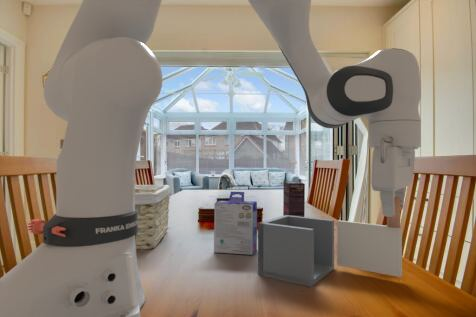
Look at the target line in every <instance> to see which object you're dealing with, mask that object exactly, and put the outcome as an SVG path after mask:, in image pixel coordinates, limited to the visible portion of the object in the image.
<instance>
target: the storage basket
mask: <svg viewBox="0 0 476 317" xmlns="http://www.w3.org/2000/svg"><path fill="white" fill-rule="evenodd" d="M170 194H171V186H170V185H168V184H135V210H136V211H137V217H138V232H137V236H136V240H135V243H136V250H149V249H155V248H156V247H157V246H158V244H159V243H161V242H160V241H161V240H162V239H163V238H164V236H165V234H166V233H167V232H168V229H169V227H168V226H169V212H170V209H169V207H170V206H169V205H170V197H171V195H170Z"/></svg>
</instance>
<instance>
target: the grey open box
mask: <svg viewBox="0 0 476 317" xmlns="http://www.w3.org/2000/svg"><path fill="white" fill-rule="evenodd" d="M333 270H335V220H334V219H328V218H327V219H324V218H315V217H308V216H307V217H306V216H304V217H300V216H290V215H284V216H283V215H281V216H278V217H274V218H272V219H267V220H264V221H262V222H257V275H258V276H263V277H268V278H272V279H275V280H280V281H285V282H289V283H293V284H297V285H302V286H306V287H309V288H312V287H313V286H315V285H316V284H317V283H318V282H320V280H322V279H323V278H324V277H326V276H327V275H328V274H329V273H331V272H332V271H333Z"/></svg>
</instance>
